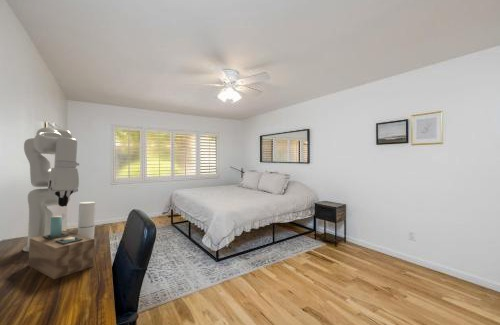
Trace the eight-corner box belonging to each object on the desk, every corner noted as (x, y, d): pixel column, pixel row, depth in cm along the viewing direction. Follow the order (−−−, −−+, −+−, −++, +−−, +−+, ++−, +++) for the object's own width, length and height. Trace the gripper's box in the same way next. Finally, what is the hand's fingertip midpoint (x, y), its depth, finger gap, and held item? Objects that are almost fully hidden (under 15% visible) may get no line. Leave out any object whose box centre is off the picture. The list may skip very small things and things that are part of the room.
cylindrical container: (84, 252, 116) (87, 203, 117) (73, 251, 117) (75, 203, 118) (96, 248, 123) (98, 201, 124) (85, 246, 124) (88, 201, 125)
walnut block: (54, 279, 88) (55, 246, 88) (28, 265, 99) (29, 237, 100) (93, 266, 100) (94, 237, 101) (66, 255, 112) (67, 230, 112)
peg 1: (47, 243, 102) (49, 216, 103) (58, 241, 106) (60, 215, 106) (52, 245, 100) (53, 217, 101) (62, 242, 104) (64, 216, 104)
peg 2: (59, 267, 96) (61, 239, 97) (70, 264, 100) (72, 236, 100) (64, 269, 94) (66, 240, 95) (75, 266, 98) (76, 238, 98)
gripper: (79, 165, 110) (77, 203, 110) (40, 164, 97) (37, 207, 96) (88, 165, 107) (85, 204, 106) (48, 165, 93) (45, 209, 93)
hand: (62, 205), depth 101 cm, fingers closed
